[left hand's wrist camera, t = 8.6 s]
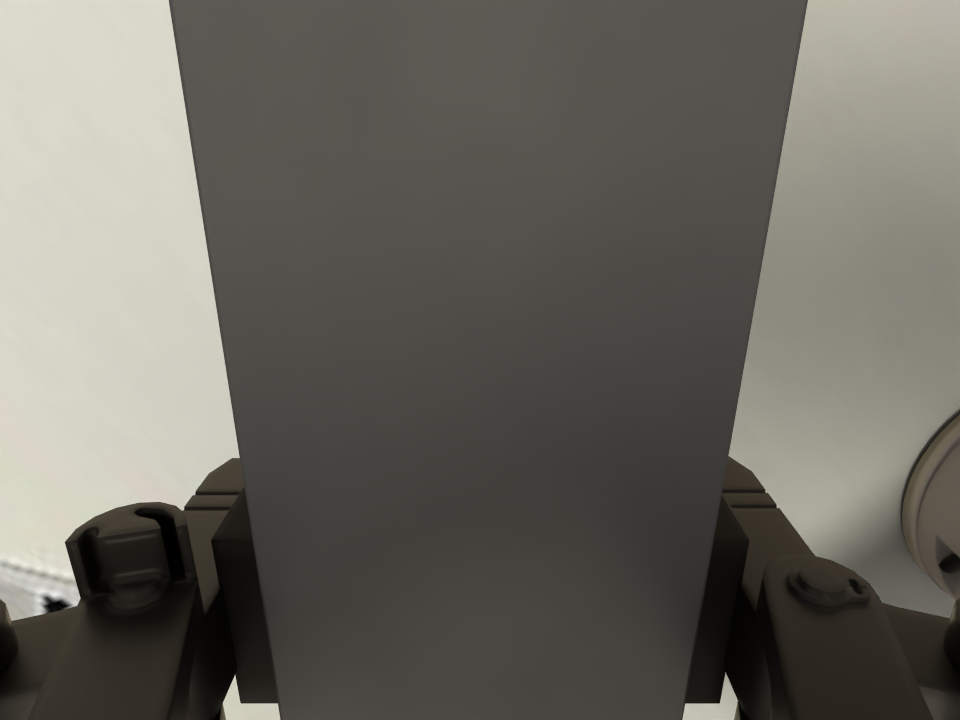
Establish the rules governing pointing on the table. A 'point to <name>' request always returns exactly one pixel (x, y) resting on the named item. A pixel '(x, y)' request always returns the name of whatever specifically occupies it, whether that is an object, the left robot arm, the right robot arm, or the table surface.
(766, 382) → the table surface
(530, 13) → the beam
